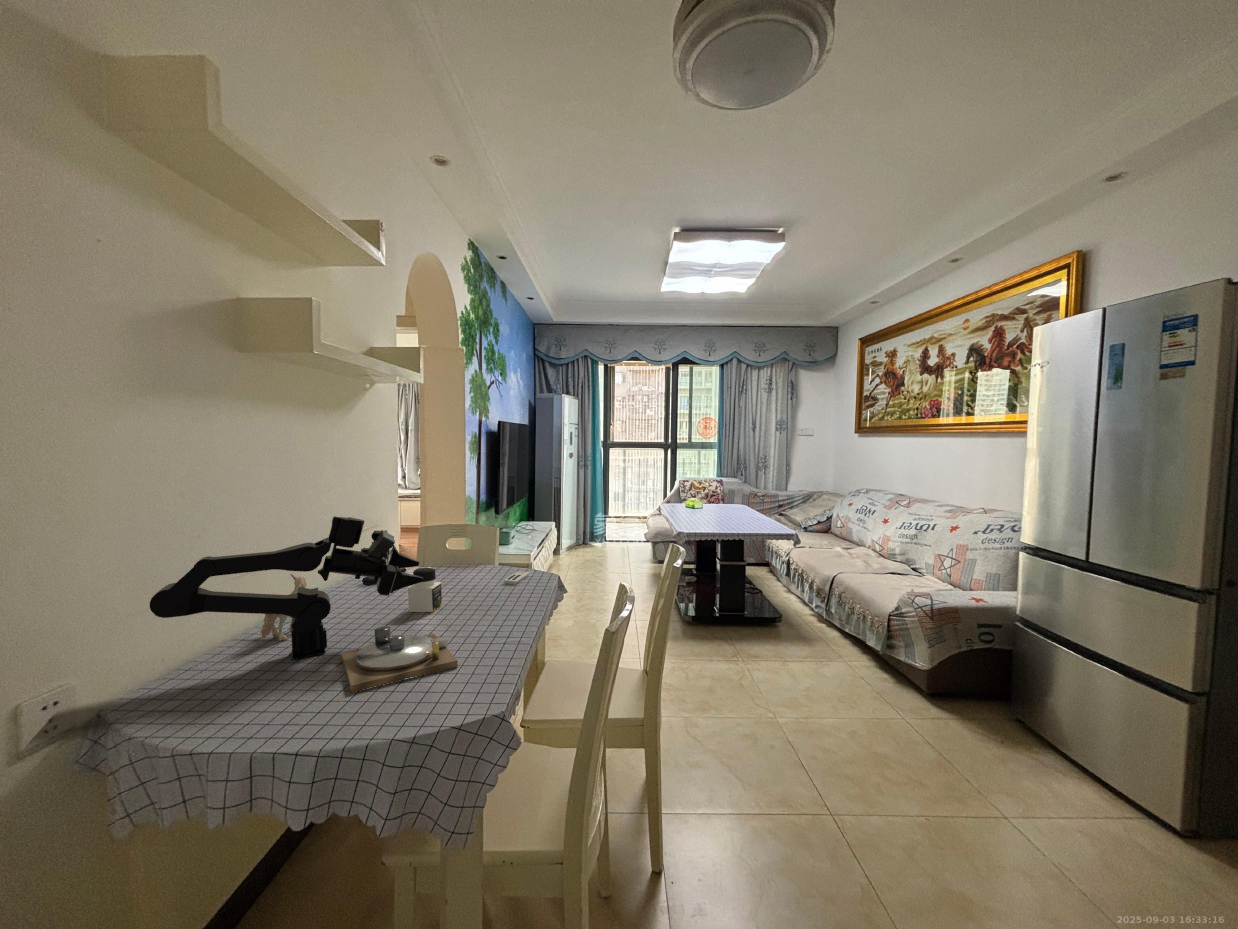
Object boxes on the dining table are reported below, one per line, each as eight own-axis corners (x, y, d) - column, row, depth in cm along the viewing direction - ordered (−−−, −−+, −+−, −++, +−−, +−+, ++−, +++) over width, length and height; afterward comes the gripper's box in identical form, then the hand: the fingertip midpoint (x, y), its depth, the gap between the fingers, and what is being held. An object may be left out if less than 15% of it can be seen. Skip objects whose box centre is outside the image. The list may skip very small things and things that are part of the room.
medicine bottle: (433, 613, 149) (431, 571, 148) (408, 613, 149) (406, 571, 148) (442, 605, 156) (440, 565, 155) (418, 606, 156) (416, 565, 156)
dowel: (433, 660, 111) (432, 644, 110) (431, 658, 112) (431, 642, 112) (440, 659, 111) (439, 643, 111) (438, 657, 112) (437, 641, 112)
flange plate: (361, 678, 103) (360, 655, 102) (352, 652, 116) (351, 632, 116) (457, 655, 113) (456, 634, 112) (438, 634, 126) (437, 616, 126)
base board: (351, 693, 100) (351, 685, 100) (341, 659, 117) (341, 652, 117) (457, 667, 111) (457, 660, 111) (434, 639, 127) (434, 633, 127)
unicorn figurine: (321, 619, 146) (319, 571, 145) (292, 644, 127) (290, 589, 126) (292, 622, 144) (290, 573, 144) (259, 648, 125) (256, 592, 125)
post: (391, 651, 111) (390, 641, 111) (388, 647, 114) (388, 637, 114) (406, 648, 113) (405, 638, 113) (403, 644, 116) (403, 634, 116)
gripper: (363, 547, 116) (434, 557, 124) (362, 517, 133) (425, 528, 140) (349, 593, 118) (421, 600, 125) (350, 558, 134) (413, 566, 141)
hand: (420, 571), depth 133 cm, fingers open, 9 cm apart
